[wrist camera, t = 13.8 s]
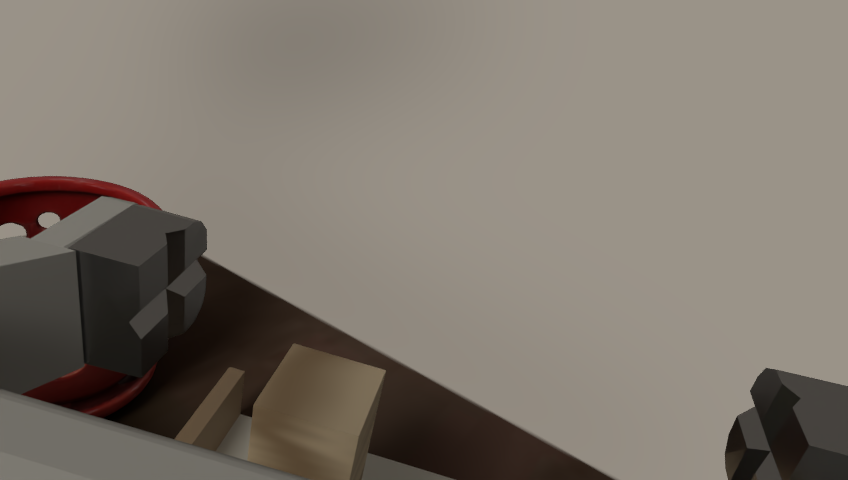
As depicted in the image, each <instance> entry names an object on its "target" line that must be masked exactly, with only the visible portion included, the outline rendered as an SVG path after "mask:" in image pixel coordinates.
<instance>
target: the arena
mask: <svg viewBox="0 0 848 480" xmlns="http://www.w3.org/2000/svg"><path fill="white" fill-rule="evenodd" d="M244 374H245V371H242V370H238V369H235V368H232V367H229V368H228V370H227V371H226V372H225V374H224V375H223V376H222V378H221V379H220V380H219V381H218V383H217V384H216V385H215V387H214V388H213V389H212V391H211V392H210V393H209V395H208V396H207V397H206V398H205V400H204V401H203V402H202V404H201V405H200V406H199V408H198V409H197V410H196V411H195V413H194V414H193V415H192V417H191V418H190V419H189V421H188V422H187V423H186V425H185V426H184V427H183V428H182V430H181V431H180V432H179V434H178V435H177V436H176V438H175V440H178V441H182V442H185V443H188V444H192V445H195V446H199V447H202V448H205V449H209V450H212V451H216V452H219V453H223V454H226V455H229V456H233V457H236V458H240V459H243V460H246V461H247V458H248V449H249V440H250V432H251V423H252V417H249V416H245V415H242V414H240V413H241V404H242V394H243V384H244ZM362 480H455V479H452V478H448V477H445V476H442V475H439V474H435V473H432V472H429V471H425V470H422V469H419V468H416V467H412V466H409V465H406V464H403V463H399V462H396V461H393V460H389V459H386V458H383V457H380V456H376V455H373V454H370V453H367V458H366V462H365V467H364V471H363V476H362Z"/></svg>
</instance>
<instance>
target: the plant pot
mask: <svg viewBox="0 0 848 480" xmlns="http://www.w3.org/2000/svg"><path fill="white" fill-rule="evenodd" d="M101 196H105V197H113V198H117V199H122V200H126V201H130V202H134V203H137V204H139V205H144V206H147V207H151V208H155V209H158V210H161V208H159V206H158V205H156V204H155V203H154V202H153V201H152V200H150V199H149V198H147V197H146V196H144V195H142V194H140V193H139V192H136V191H134V190H132V189H129V188H126V187H123V186H120V185H117V184H113V183H109V182H104V181H99V180H94V179H86V178H77V177H62V176H43V177H27V178H18V179H10V180H4V181H0V226H1V225H3V224H6V223H15V224H19V225H21V226H23V227H24V228H25V229H26V233H27V237H26V238H30V239H31V238H32V237H34V236H36V235H37V234H39V233H41V232H42V231H44V230H46V229H47V228H44V227H42V226H41V225H39V222H38V217H39V216H40V215H41V214H43V213H45V212H52V213H55V214H57V215H58V216H59V217H60V221H61V220H63V219H64V218H66V217H68V216H69V215H71V214H73V213H74V212H76V211H78V210H79V209H81V208H83V207H85V206H86V205H88V204H90V203H91V202H93V201H95V200H96V199H98V198H100V197H101ZM156 364H157V363H156ZM156 364H155V365H154V366H153V367H152V368H151V369H150V370H149V371H148V372H147V373H146V374H145V375H144V377H143V378H139V377H135V376H131V375H127V374H123V373H119V372H115V371H112V370H108V369H104V368H100V367H96V366H92V365H88V364H84V365H85V366H84V367H82V368H80V369H78V370H76V371H73V372H71V373H69V374H66V375H64V376H62V377H59V378H57V379H55V380H53V381H50V382H48V383H46V384H43V385H41V386H39V387H37V388H34V389H32V390H30V391H27V392H25V393H23V394H21V395H24V396H28V397H31V398H35V399H38V400H41V401H45V402H48V403H52V404H55V405H58V406H62V407H65V408H69V409H72V410H76V411H79V412H82V413H86V414H89V415H93V416H96V417H99V418H104V417H106V416H108V415H110V414H112V413H114V412H116V411H118V410H119V409H121V408H122V407H124V406H125V405H127V404H128V403H129V402H130V401H131V400H133V399H134V398H135V397H136V396H137V395H139V394H140V392H141V391H142V390H143V389H144V388H145V386H146V385H147V384H148V382H149V381H150V379H151V377H152V376H153V373H154V371H155V368H156Z"/></svg>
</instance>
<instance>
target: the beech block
mask: <svg viewBox="0 0 848 480" xmlns="http://www.w3.org/2000/svg"><path fill="white" fill-rule="evenodd" d="M385 372H386V370H383V369H379V368H376V367H372V366H369V365H366V364H362V363H359V362H355V361H352V360H349V359H345V358H342V357H338V356H335V355H331V354H328V353H325V352H321V351H318V350H314V349H311V348H308V347H304V346H301V345H297V344H293V345H292V347H291V348H290V350H289V351H288V353H287V354H286V356H285V357H284V359H283V360H282V362H281V363H280V365H279V367H278V368H277V370H276V371H275V373H274V374H273V376H272V377H271V379H270V380H269V382H268V383H267V385H266V386H265V388H264V389H263V391H262V392H261V394H260V395H259V397H258V399H257V400H256V402H255V403H254V405H253V414H252V423H251V432H250V440H249V449H248V458H247V461H250V462H253V463H257V464H260V465H264V466H267V467H270V468H274V469H277V470H281V471H284V472H287V473H291V474H294V475H298V476H301V477H305V478H308V479H311V480H362V476H363V471H364V467H365V462H366V458H367V453H368V449H369V444H370V440H371V435H372V431H373V426H374V422H375V417H376V413H377V408H378V404H379V399H380V395H381V390H382V386H383V381H384V377H385Z"/></svg>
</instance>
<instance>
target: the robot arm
mask: <svg viewBox="0 0 848 480" xmlns="http://www.w3.org/2000/svg"><path fill="white" fill-rule="evenodd" d="M206 250H207V229H206V228H205V226H204V225H203V223H202V222H201V221H198V220H194V219H190V218H187V217H183V216H180V215H176V214H172V213H169V212H165V211H162V210H158V209H155V208H151V207H147V206H144V205H139V204H137V203H134V202H130V201H126V200H122V199H117V198H113V197H105V196H101V197H100V198H98V199H96V200H95V201H93V202H91V203H90V204H88V205H86V206H85V207H83V208H81V209H79V210H78V211H76V212H74V213H73V214H71V215H69V216H68V217H66V218H64V219H63V220H61V221H60V222H58V223H56V224H54V225H53V226H51V227H49V228H47V229H46V230H44V231H42V232H41V233H39V234H37V235H36V236H34V237H32V238H31V239H30V238H26V237H22V236H17V237H11V238H5V239H0V480H311V479H308V478H305V477H301V476H298V475H294V474H291V473H287V472H284V471H281V470H277V469H274V468H270V467H267V466H264V465H260V464H257V463H253V462H250V461H246V460H243V459H240V458H236V457H233V456H229V455H226V454H223V453H219V452H216V451H212V450H209V449H205V448H202V447H199V446H195V445H192V444H188V443H185V442H182V441H178V440H175V439H171V438H168V437H164V436H161V435H158V434H154V433H151V432H147V431H144V430H140V429H137V428H134V427H130V426H127V425H123V424H120V423H117V422H113V421H110V420H106V419H103V418H99V417H96V416H93V415H89V414H86V413H82V412H79V411H76V410H72V409H69V408H65V407H62V406H58V405H55V404H52V403H48V402H45V401H41V400H38V399H35V398H31V397H28V396H24V395H21V394H23V393H25V392H27V391H30V390H32V389H34V388H37V387H39V386H41V385H43V384H46V383H48V382H50V381H53V380H55V379H57V378H59V377H62V376H64V375H66V374H69V373H71V372H73V371H76V370H78V369H80V368H82V367H84V366H85V365H84V364H88V365H92V366H96V367H100V368H104V369H108V370H112V371H115V372H119V373H123V374H127V375H131V376H135V377H139V378H143V377H144V375H145V374H146V373H147V372H148V371H149V370H150V369H151V368H152V367H153V366H154V365H155V364H156V363H157V362H158V361H159V359H160V358H161V357H162V356H163V355H164V354H165V353H166V352H167V351H168V338H171V337H174V336H177V335H180V334H183V333H185V331H186V330H187V329H188V328H189V327H190V326H191V325H192V323H193V322H194V321H195V319H196V317H197V315H198V313H199V310H200V308H201V306H202V304H203V299H204V295H205V290H206V274H205V272H204V271H203V269H202V267H201V266H200V264H199V262H198V261H197V259H198V258H199V257H200V256H201V255H202V254H203V253H204V252H205V251H206ZM750 392H751V395H752V398H753V401H754V404H755V407H753V408H751V409H749V410H748V411H746V412H744V413H742V414H740V415H738V416H737V418H736V420H735V422H734V424H733V426H732V429H731V431H730V433H729V436H728V441H727V446H726V451H725V465H726V472H727V476H728V480H848V386H844V385H840V384H835V383H831V382H827V381H823V380H818V379H814V378H809V377H805V376H801V375H797V374H792V373H788V372H784V371H779V370H775V369H768V368H766V369H765V370H764V371H763V372H762V373H761V374H760V375H759V376H758V377H757V379H756V381H755V383H754V385H753V387H752V388H751V390H750Z"/></svg>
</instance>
